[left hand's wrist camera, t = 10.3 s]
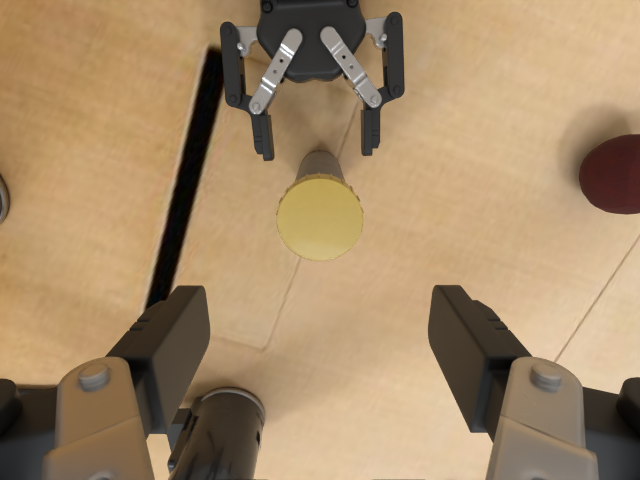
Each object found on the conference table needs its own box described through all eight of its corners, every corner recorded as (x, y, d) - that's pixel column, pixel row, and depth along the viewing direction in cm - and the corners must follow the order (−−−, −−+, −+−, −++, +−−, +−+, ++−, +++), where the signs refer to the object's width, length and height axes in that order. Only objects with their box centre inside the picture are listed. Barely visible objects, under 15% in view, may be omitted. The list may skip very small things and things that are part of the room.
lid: (271, 241, 23) (267, 250, 21) (289, 162, 21) (286, 166, 19) (347, 260, 23) (349, 271, 22) (371, 184, 22) (375, 190, 20)
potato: (641, 126, 36) (714, 129, 29) (630, 200, 38) (695, 219, 32) (567, 137, 36) (622, 144, 29) (561, 210, 39) (610, 230, 32)
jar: (295, 185, 38) (276, 243, 22) (305, 145, 37) (293, 175, 20) (334, 195, 38) (344, 259, 22) (345, 156, 37) (365, 194, 20)
